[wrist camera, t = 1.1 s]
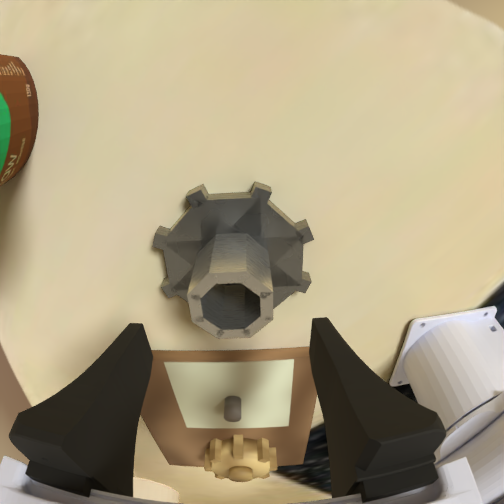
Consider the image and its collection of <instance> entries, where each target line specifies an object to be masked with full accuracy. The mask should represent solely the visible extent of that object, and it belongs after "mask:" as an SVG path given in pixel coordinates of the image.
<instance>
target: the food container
mask: <svg viewBox="0 0 504 504" xmlns="http://www.w3.org/2000/svg"><path fill="white" fill-rule="evenodd" d="M38 116H39V113H38V99H37V92H36V88H35V84H34V81H33V79H32V76H31V74H30V72H29V70H28V68H27V67H26V65H25V64H24V63H23V62H22V61H21V59H20V58H19V57H14V56H7V55H1V54H0V186H1V185H3V184H4V183H6V182H7V181H8V180H10V179H11V178H13V177H14V176H15V175H16V174H17V173H18V172H19V171H20V170H21V169H22V167H23V166H24V165H25V163H26V161H27V160H28V158H29V156H30V154H31V151H32V149H33V146H34V142H35V139H36V134H37V128H38Z"/></svg>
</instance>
